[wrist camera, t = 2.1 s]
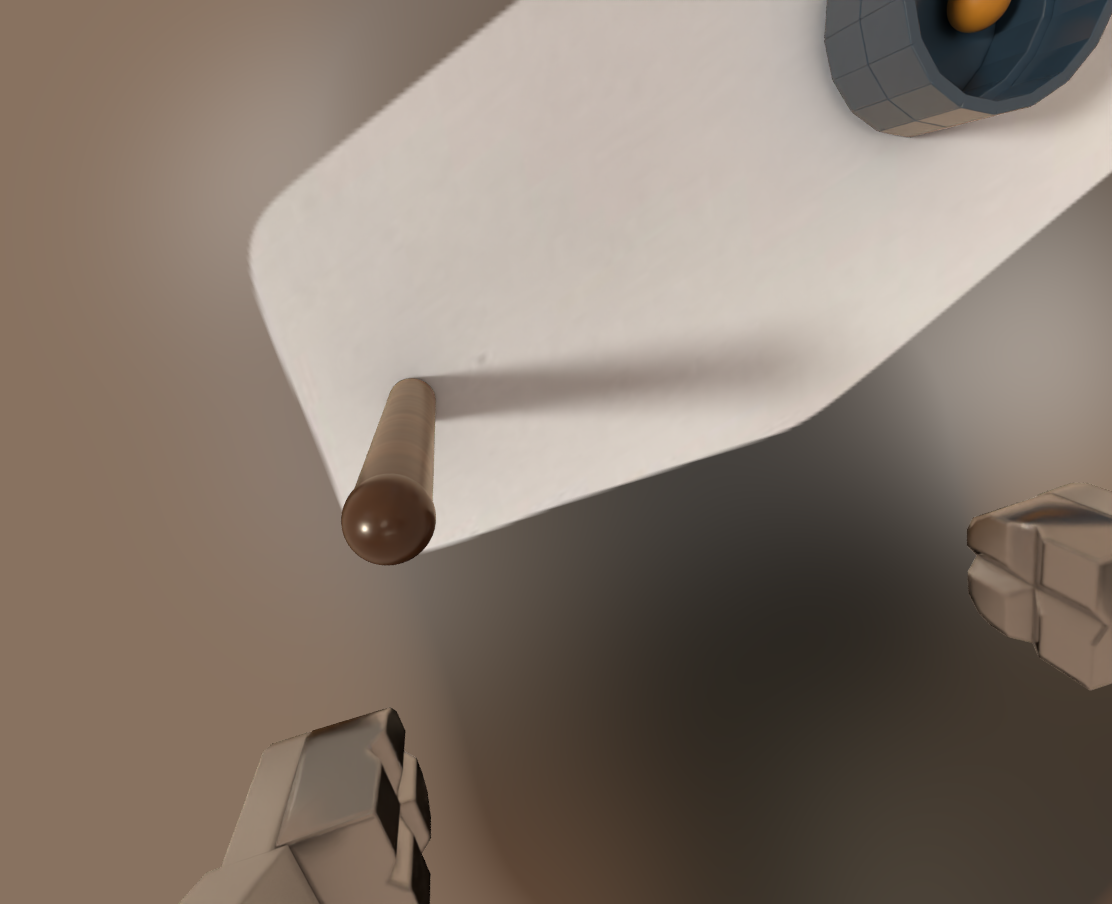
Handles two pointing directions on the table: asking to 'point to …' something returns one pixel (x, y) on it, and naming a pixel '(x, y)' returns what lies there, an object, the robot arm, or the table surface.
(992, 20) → the bead
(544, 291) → the table surface
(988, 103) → the bowl
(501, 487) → the table surface
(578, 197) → the table surface
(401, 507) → the stick
